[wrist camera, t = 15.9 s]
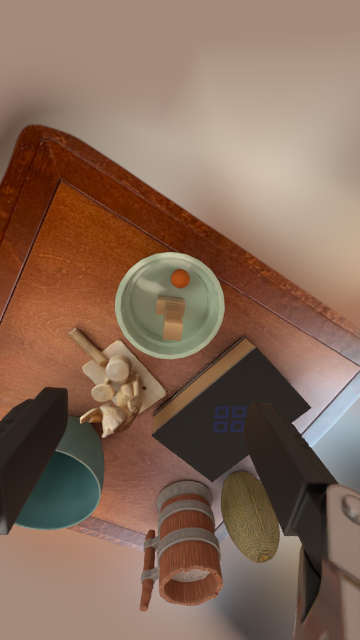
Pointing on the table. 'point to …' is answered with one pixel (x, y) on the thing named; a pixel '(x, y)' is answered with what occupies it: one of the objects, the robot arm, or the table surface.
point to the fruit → (249, 517)
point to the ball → (180, 278)
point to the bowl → (155, 279)
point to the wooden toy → (117, 385)
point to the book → (223, 409)
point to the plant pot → (67, 481)
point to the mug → (183, 548)
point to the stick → (171, 316)
